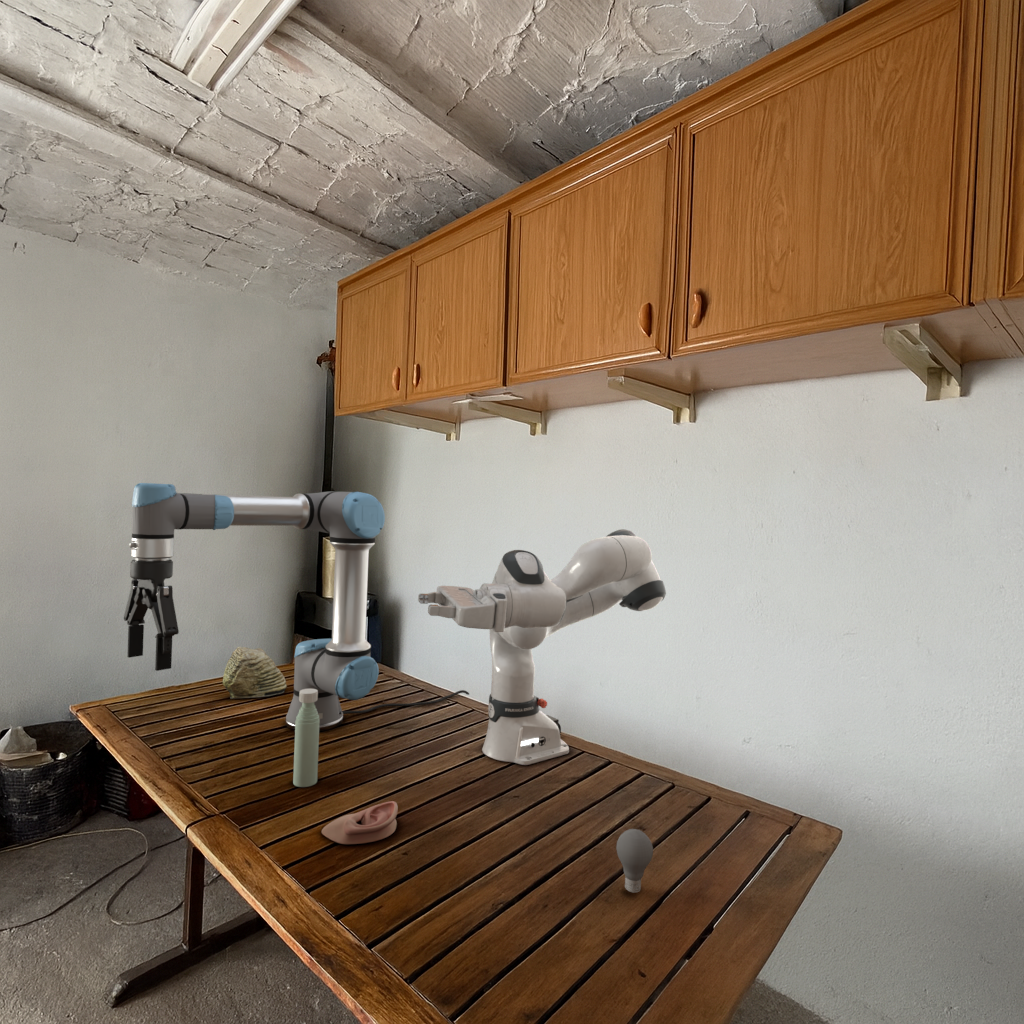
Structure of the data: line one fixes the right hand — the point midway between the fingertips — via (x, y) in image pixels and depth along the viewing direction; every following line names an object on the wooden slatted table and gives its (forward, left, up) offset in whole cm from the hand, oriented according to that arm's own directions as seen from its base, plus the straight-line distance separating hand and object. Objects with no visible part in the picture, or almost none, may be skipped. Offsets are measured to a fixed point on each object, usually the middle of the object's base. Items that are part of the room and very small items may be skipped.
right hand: (423, 604), depth 123 cm
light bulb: (-27, +34, -43) cm, 61 cm away
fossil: (+23, -94, -43) cm, 106 cm away
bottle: (+17, -27, -43) cm, 54 cm away
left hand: (+48, -30, -16) cm, 59 cm away
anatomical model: (+10, -2, -43) cm, 45 cm away
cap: (+17, -27, -24) cm, 39 cm away
